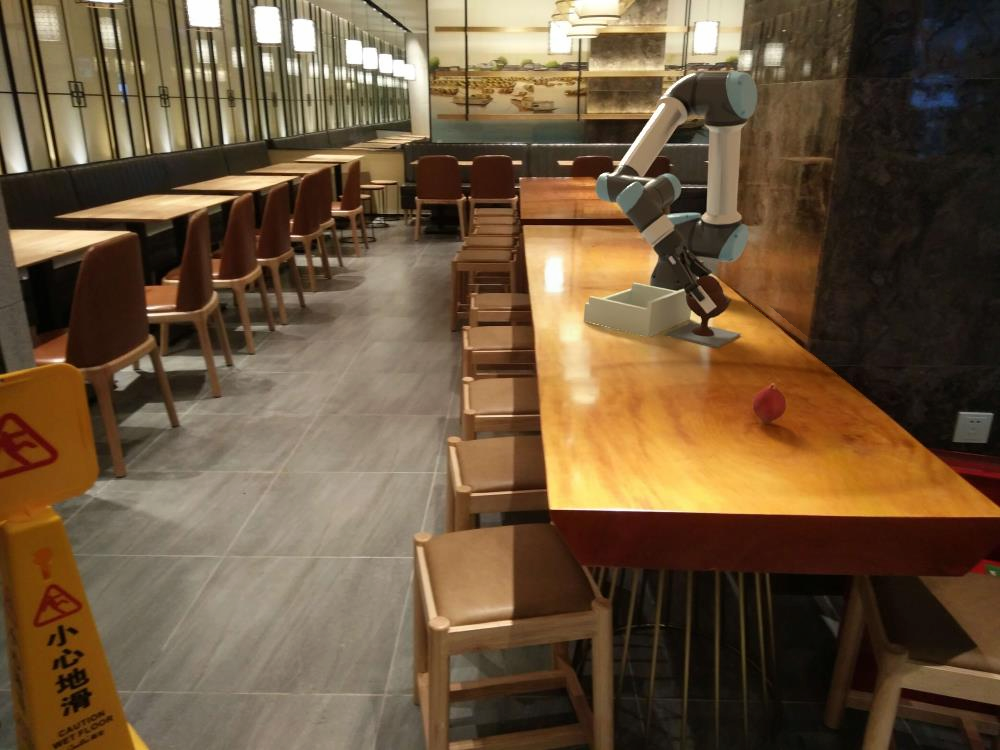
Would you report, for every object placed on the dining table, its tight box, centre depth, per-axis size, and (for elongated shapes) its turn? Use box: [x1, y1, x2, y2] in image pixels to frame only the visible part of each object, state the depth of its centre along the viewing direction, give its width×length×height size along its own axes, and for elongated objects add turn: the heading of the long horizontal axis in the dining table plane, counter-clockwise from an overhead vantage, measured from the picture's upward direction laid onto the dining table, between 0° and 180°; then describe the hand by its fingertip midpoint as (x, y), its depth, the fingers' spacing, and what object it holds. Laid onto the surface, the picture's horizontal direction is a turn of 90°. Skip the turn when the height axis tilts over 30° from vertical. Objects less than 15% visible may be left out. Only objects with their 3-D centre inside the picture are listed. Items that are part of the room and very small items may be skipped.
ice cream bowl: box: [686, 275, 732, 336], centre depth 187 cm, size 11×11×15 cm
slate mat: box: [664, 322, 741, 349], centre depth 189 cm, size 14×14×1 cm
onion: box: [752, 383, 787, 424], centre depth 137 cm, size 6×6×8 cm
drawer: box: [583, 282, 692, 338], centre depth 199 cm, size 23×19×9 cm
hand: (716, 303), depth 186 cm, fingers open, 13 cm apart
